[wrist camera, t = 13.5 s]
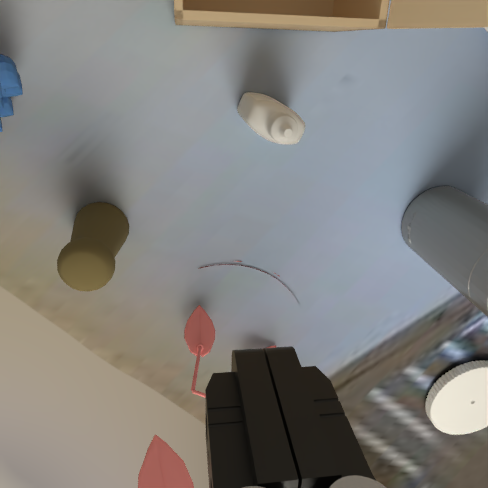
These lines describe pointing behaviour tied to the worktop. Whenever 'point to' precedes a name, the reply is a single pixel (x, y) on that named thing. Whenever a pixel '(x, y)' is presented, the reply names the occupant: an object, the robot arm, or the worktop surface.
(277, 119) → the eye dropper bottle
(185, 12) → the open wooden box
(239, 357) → the robot arm
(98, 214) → the cork
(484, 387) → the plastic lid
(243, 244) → the worktop surface
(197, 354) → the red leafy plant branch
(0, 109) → the grapes
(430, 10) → the lid flap
